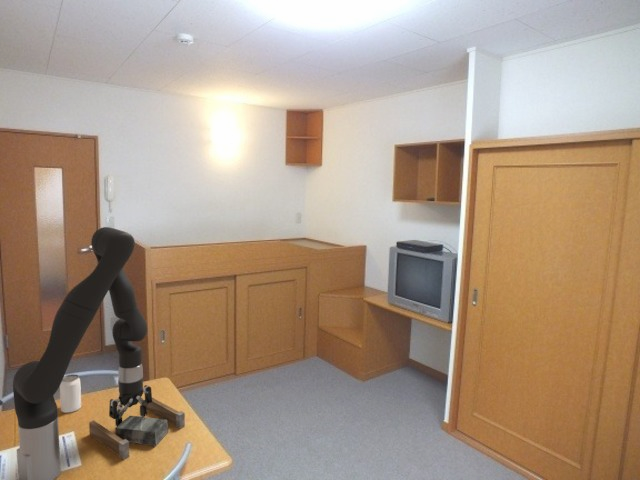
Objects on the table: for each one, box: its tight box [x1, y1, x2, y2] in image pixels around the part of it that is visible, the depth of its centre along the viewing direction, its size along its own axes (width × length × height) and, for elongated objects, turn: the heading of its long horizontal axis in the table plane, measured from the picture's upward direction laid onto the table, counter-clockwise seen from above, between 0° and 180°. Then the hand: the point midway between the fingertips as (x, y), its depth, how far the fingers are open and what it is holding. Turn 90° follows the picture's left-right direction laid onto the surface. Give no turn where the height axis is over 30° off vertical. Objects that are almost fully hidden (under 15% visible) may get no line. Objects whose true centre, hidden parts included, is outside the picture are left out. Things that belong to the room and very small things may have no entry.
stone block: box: [114, 415, 169, 447], centre depth 139 cm, size 9×14×5 cm, turn 80°
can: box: [59, 373, 82, 414], centre depth 153 cm, size 6×6×12 cm
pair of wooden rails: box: [88, 397, 186, 461], centre depth 142 cm, size 22×20×5 cm
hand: (131, 421), depth 144 cm, fingers open, 8 cm apart
